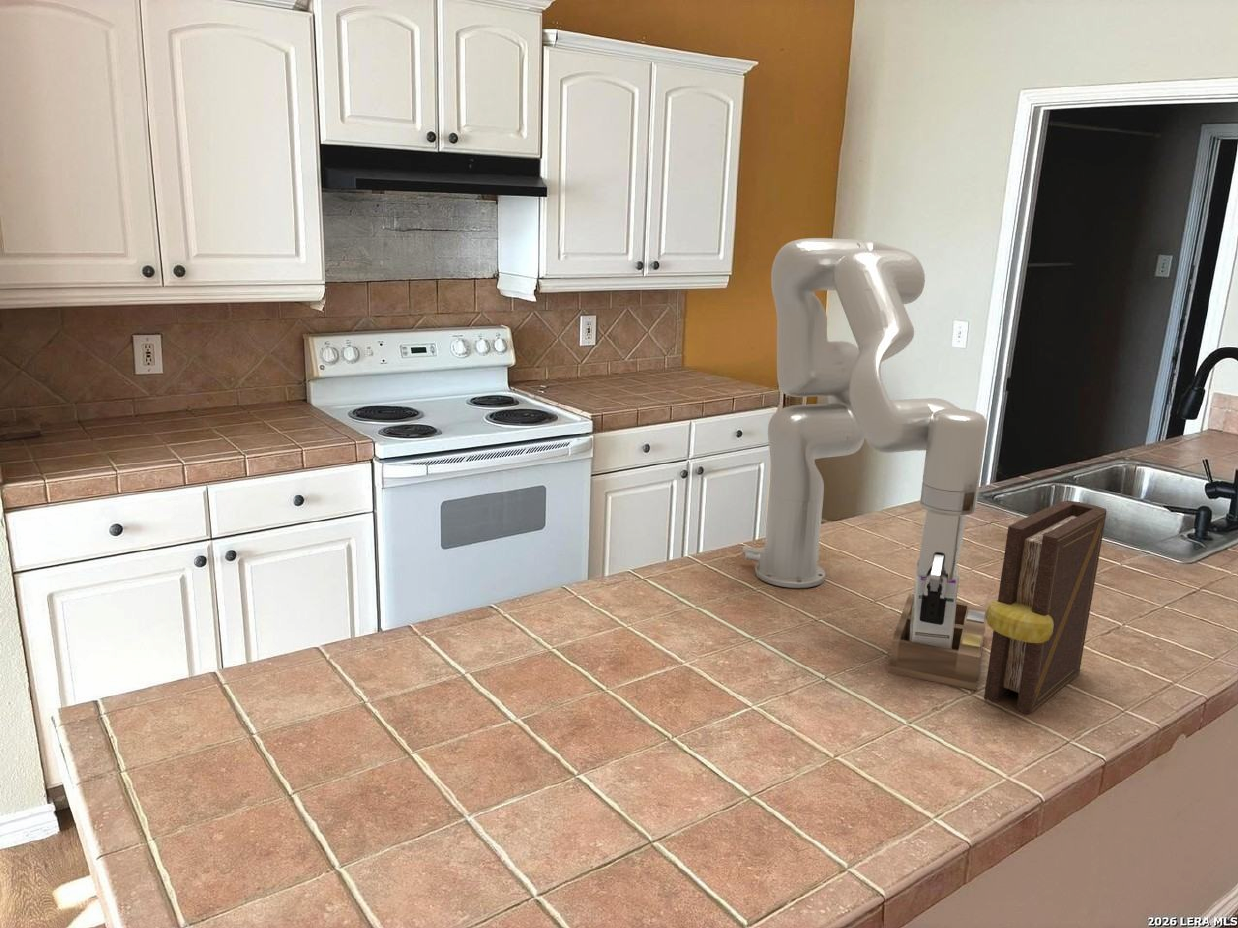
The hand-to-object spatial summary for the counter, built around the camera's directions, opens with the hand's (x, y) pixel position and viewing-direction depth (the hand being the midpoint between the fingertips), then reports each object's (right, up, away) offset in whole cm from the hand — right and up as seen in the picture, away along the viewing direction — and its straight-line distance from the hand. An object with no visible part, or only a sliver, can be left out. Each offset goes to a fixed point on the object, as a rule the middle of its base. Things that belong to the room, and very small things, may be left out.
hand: (934, 609), depth 138 cm
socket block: (+3, -8, +6) cm, 10 cm away
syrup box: (0, -8, +2) cm, 8 cm away
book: (+13, -11, -3) cm, 17 cm away
